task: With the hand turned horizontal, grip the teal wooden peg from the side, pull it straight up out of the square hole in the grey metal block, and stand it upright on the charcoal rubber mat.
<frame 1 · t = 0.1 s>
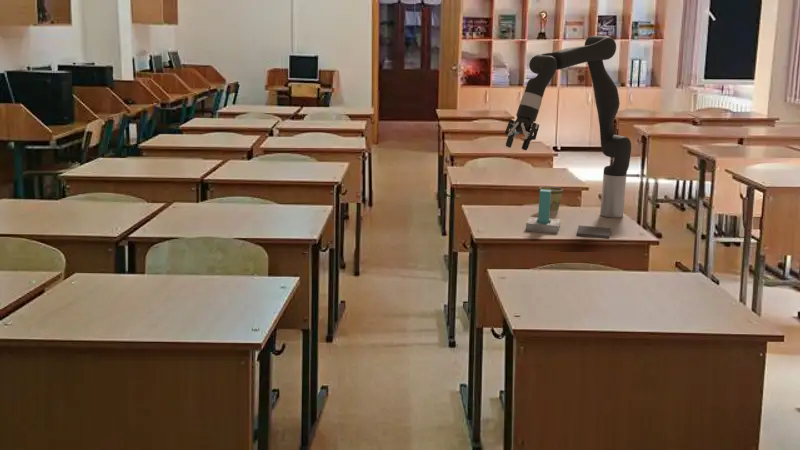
hand: (515, 148, 347), 31 cm above the table, tool tilted 20°, fingers open, 8 cm apart
ceramic cup: (550, 211, 391), on the table
socket block: (543, 228, 358), on the table
rubber mat: (593, 233, 354), on the table
teal peg: (543, 229, 358), resting in socket block
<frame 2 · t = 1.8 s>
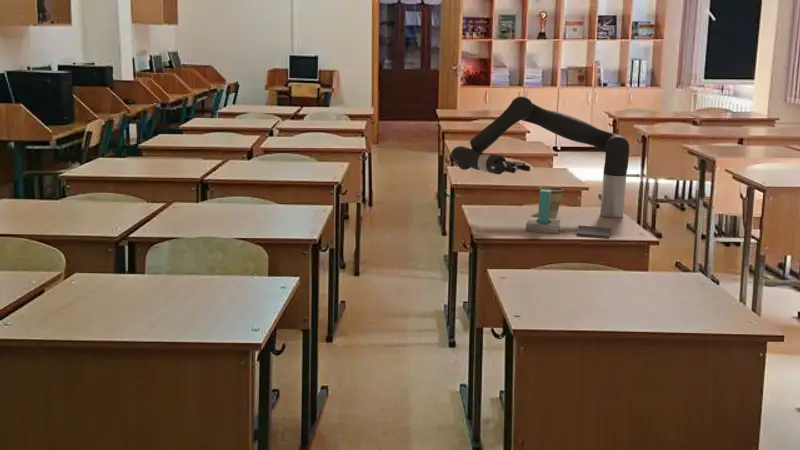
hand: (522, 169, 362), 21 cm above the table, tool horizontal, fingers open, 8 cm apart
nothing on the table moved.
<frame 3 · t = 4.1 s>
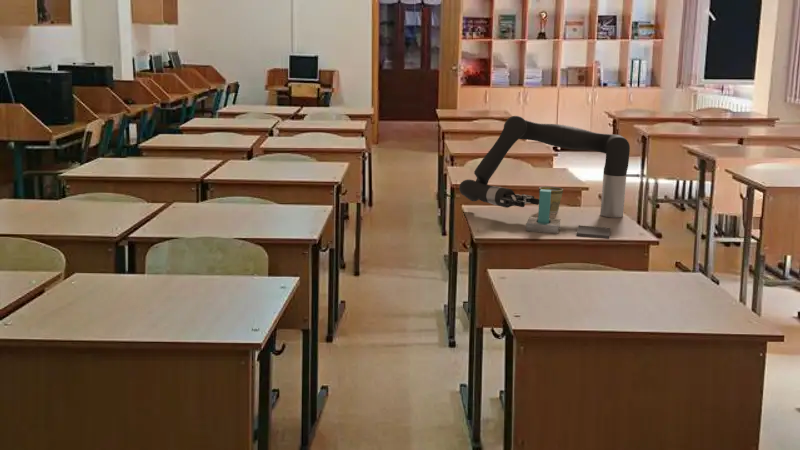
hand: (531, 203, 361), 9 cm above the table, tool horizontal, fingers open, 8 cm apart
nothing on the table moved.
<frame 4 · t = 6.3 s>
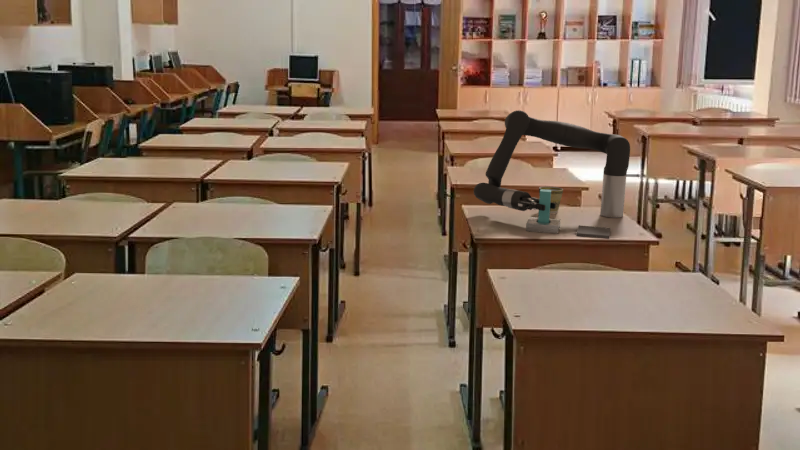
hand: (549, 207, 354), 9 cm above the table, tool horizontal, fingers closed on teal peg, 5 cm apart
teal peg: (543, 228, 358), resting in socket block, touching gripper
everything else where it was.
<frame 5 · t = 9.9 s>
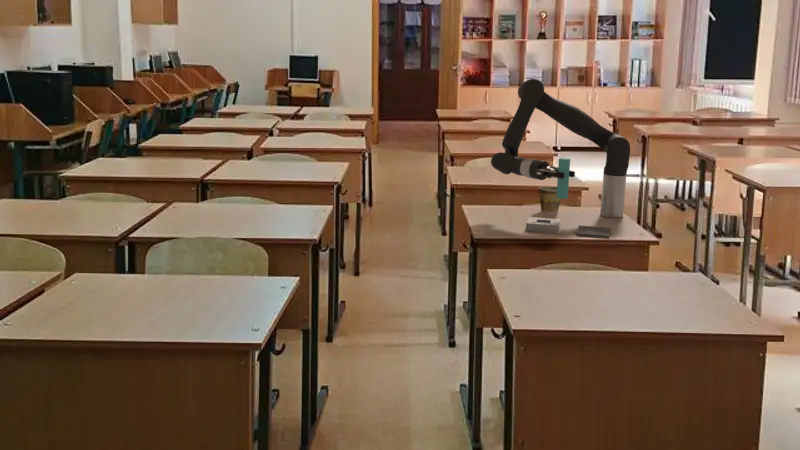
hand: (568, 175, 350), 22 cm above the table, tool horizontal, fingers closed on teal peg, 5 cm apart
teal peg: (562, 197, 354), point 13 cm above the table, touching gripper
everything else where it was.
when the fingers open (11 cm above the table, at t = 13.4 s): teal peg drops 1 cm, resting on rubber mat.
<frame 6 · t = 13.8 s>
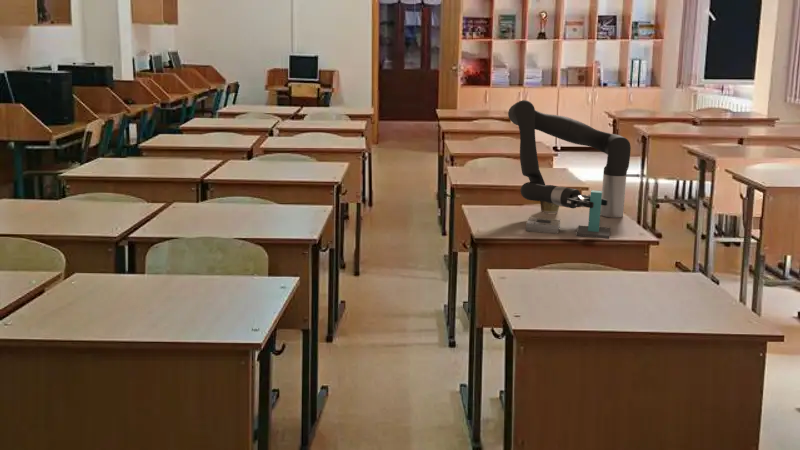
hand: (600, 204, 350), 12 cm above the table, tool horizontal, fingers open, 8 cm apart
teal peg: (593, 230, 354), point 1 cm above the table, touching rubber mat
everything else where it was.
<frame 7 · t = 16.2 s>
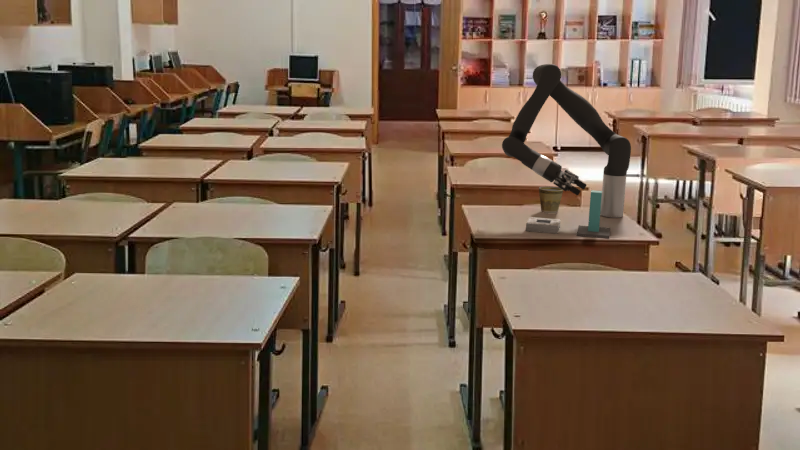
hand: (582, 190, 361), 14 cm above the table, tool tilted 65°, fingers open, 8 cm apart
nothing on the table moved.
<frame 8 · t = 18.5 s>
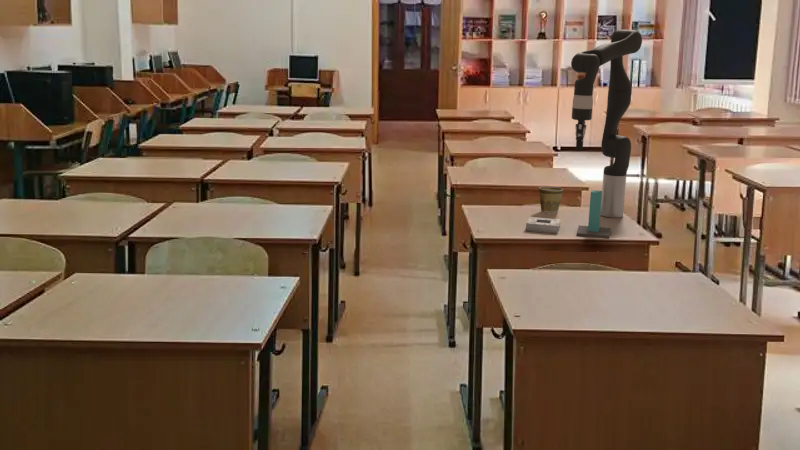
hand: (579, 149, 358), 30 cm above the table, tool pointing down, fingers open, 8 cm apart
nothing on the table moved.
at the end: teal peg inside the target area on the rubber mat (0.1 cm from its centre), point 1.0 cm above the rubber mat's base; teal peg tilted 0°; the gripper is holding nothing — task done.
